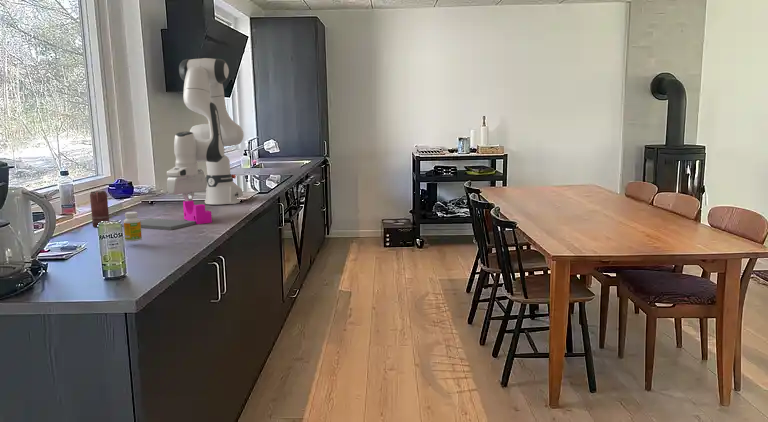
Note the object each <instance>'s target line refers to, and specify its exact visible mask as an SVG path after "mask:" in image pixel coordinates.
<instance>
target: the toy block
mask: <svg viewBox="0 0 768 422" xmlns="http://www.w3.org/2000/svg"><path fill="white" fill-rule="evenodd" d="M182 203H183V205H182V207H183V208H182V209H183V219H184V220H186V221H196V224H195V225H201V224H209V223H210V224H211V223H213V221H212V219H213V218H212V216H213V215H212V211H210V210H206V205H205V204H204V203H203V204H202V203H201V204H195V202H194V200H193V201H185V200H182Z"/></svg>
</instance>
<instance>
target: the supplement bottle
mask: <svg viewBox="0 0 768 422" xmlns="http://www.w3.org/2000/svg"><path fill="white" fill-rule="evenodd" d="M138 216H139V215H138V212H137V211H127V212H125V213H124V217H125V219H123V230H124V241H125V242H138V241H141V240H143V239H142V237H143V235H142V228H141V222H140V220H141V219H140V218H139V217H138Z"/></svg>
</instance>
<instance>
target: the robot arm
mask: <svg viewBox="0 0 768 422" xmlns="http://www.w3.org/2000/svg"><path fill="white" fill-rule="evenodd" d="M178 73H179V77H180V78H181V80H182V81H183V82H184V83H183V92H182V93H183V94H182V95H183V98H182V99H183V103H184V105H185V106H186V108H187V109H188V110H190V111H192V112H194V113H195V114H199V115H200V116H204V117H205V118H206V119H207V123H201V124H196V125H193V126H191V128H190V129H189V131H179V132H177V133H176V134H175V135H174V140H173V149H174V150H173V154H174V156H175V161H174V165H175V166H173V167H172V168H170V169H169V170H167V171H166V177H167V178H166V179H167V180H166V188H167V189H166V190H167V193H168V195H171V196H172V195H173V196H175V195H182V198H183V199H184V201H194V199H193V198H194V197H195V192H200V191H205V200H204V203H205V204H206V205H231V204H233V205H235V204H239V203H241V202H240V201H241V200H237V198H239V197H241V196H243V197H244V195H243V189H242V188H241V186H239V185H238V184H237V183H235V181H234V179H236V178H237V175H236V174H231V163H230V159H229V157H228V156H227V155H226V154H225V153H226V152H225V147H234V146H237V145H240V144H241V143H242V141H243V140H244V131H243V128H242V127H241V126H240V125H239V124H237V123H236V122H235V121H234V120H233V119H232V118H231V117H230V114H229V113H228V110H227V107H226V98H225V90H224V85H223V83H224V82H226V80H228V78H229V73H230V69H229V65H228V63H227V62H226V61H225V59H221V58H210V57H209V58H208V57H203V58H193V59H191V58H186V59H183V60H182V61H181V62H180V63H179V65H178ZM198 162H202V163H204V162H205V165H206V175H205V171H203V170H202V169H200V168H199V167H198ZM198 168H199V169H198ZM205 204H204V205H205Z"/></svg>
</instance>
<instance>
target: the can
mask: <svg viewBox="0 0 768 422" xmlns="http://www.w3.org/2000/svg"><path fill="white" fill-rule="evenodd" d="M89 200H90V210H91V222H92V226H93V228H98V227H97V225H98V223H99V222H101V221H109V222H110V214H109V202H108V201H109V200H108V193H107V192H106V191H105V190H98V191H90V194H89Z"/></svg>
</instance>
